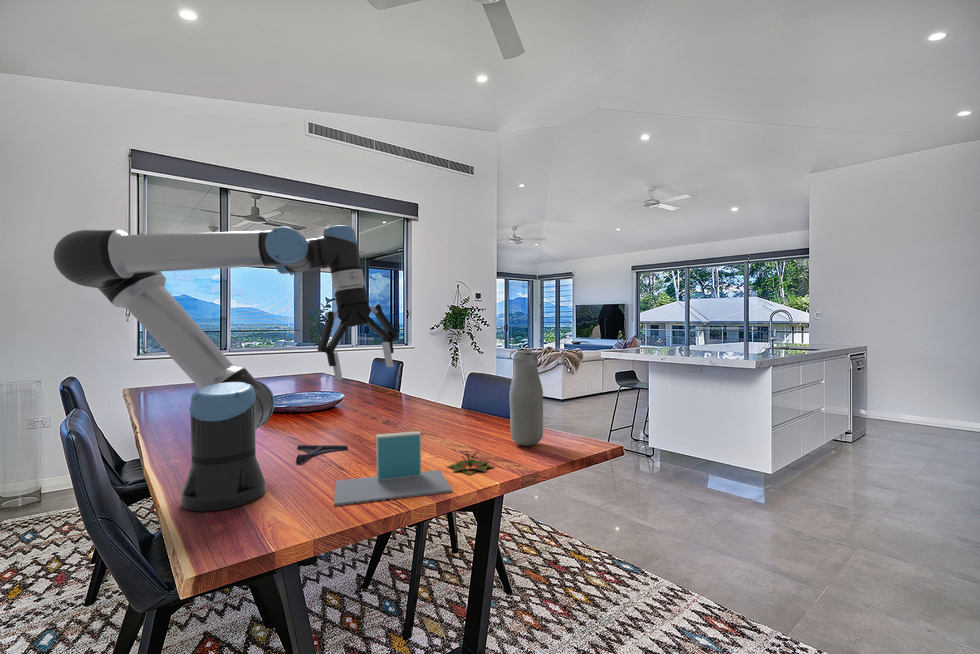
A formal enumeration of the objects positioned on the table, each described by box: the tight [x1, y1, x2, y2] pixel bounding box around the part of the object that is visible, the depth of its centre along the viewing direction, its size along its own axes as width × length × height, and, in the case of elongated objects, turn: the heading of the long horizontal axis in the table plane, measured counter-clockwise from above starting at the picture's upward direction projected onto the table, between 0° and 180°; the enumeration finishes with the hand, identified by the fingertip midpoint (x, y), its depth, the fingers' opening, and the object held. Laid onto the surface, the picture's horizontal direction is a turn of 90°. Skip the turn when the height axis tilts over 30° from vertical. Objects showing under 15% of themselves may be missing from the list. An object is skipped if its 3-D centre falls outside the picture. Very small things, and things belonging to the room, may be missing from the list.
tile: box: [375, 431, 422, 481], centre depth 107 cm, size 10×3×10 cm, turn 107°
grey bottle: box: [508, 349, 544, 447], centre depth 136 cm, size 10×10×28 cm
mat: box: [333, 469, 453, 507], centre depth 102 cm, size 24×14×1 cm, turn 107°
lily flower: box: [446, 449, 495, 476], centre depth 115 cm, size 12×12×5 cm
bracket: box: [295, 444, 349, 465], centre depth 127 cm, size 14×15×3 cm
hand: (365, 372), depth 115 cm, fingers open, 13 cm apart
